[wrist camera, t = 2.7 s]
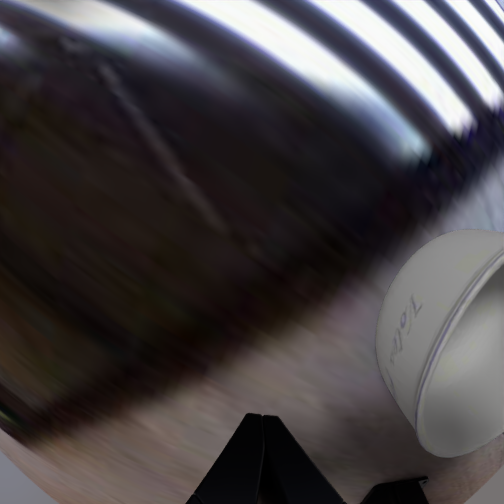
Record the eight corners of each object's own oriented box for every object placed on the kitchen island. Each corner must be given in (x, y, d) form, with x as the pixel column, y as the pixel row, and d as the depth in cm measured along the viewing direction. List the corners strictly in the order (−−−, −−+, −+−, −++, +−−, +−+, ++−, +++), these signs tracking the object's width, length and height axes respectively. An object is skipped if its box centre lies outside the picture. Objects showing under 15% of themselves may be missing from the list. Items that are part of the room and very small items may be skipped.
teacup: (330, 266, 16) (392, 337, 8) (478, 187, 15) (576, 198, 7) (390, 426, 18) (428, 505, 11) (501, 354, 17) (560, 405, 10)
